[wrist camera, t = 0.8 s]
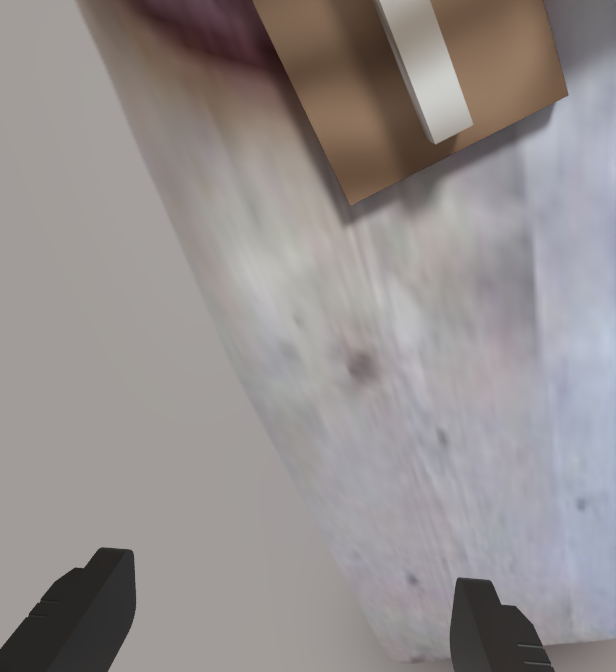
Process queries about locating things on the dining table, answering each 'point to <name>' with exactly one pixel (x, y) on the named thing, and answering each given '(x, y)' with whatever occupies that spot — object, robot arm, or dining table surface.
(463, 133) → the rail board
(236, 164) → the dining table surface
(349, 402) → the dining table surface
